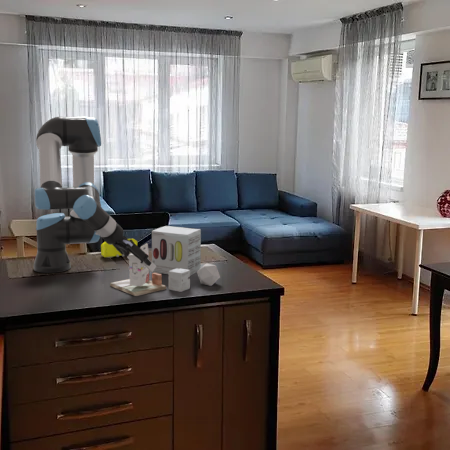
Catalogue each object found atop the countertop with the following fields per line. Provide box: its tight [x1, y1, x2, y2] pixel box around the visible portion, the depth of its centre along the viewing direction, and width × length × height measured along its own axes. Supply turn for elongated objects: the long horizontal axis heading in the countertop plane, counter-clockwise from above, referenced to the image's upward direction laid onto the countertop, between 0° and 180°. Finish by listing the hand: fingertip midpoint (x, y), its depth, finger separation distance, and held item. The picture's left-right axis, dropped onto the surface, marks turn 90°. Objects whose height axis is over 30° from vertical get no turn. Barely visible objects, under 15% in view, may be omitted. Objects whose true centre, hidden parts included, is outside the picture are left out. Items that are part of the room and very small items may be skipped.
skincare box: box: [168, 268, 191, 293], centre depth 222 cm, size 6×6×7 cm
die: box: [196, 263, 221, 287], centre depth 230 cm, size 8×9×10 cm
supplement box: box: [151, 225, 202, 277], centre depth 247 cm, size 17×13×18 cm
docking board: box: [109, 272, 167, 297], centre depth 224 cm, size 17×14×5 cm
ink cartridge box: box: [128, 243, 150, 286], centre depth 218 cm, size 9×5×15 cm, turn 168°
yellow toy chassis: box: [100, 238, 138, 259], centre depth 274 cm, size 16×6×8 cm, turn 118°
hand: (146, 266), depth 220 cm, fingers closed on ink cartridge box, 8 cm apart
